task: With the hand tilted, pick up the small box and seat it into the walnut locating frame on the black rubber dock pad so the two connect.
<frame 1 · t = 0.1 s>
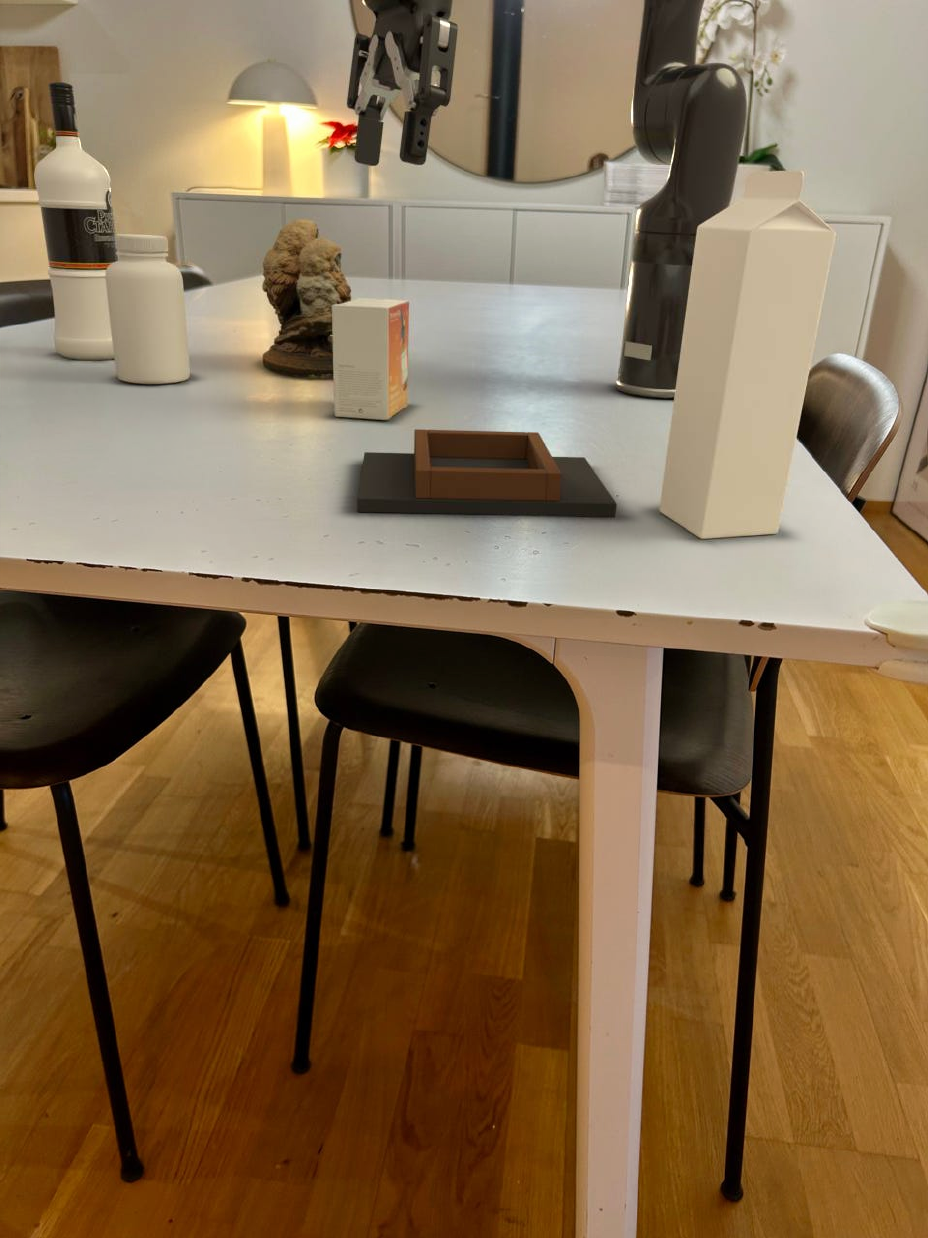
hand: (388, 163, 80), 22 cm above the table, tool pointing down, fingers open, 8 cm apart
milk: (716, 525, 63), on the table
vodka: (96, 356, 115), on the table
dock pad: (480, 488, 68), on the table
pill bottle: (154, 380, 102), on the table
owl figurine: (314, 369, 112), on the table
small box: (372, 413, 91), on the table
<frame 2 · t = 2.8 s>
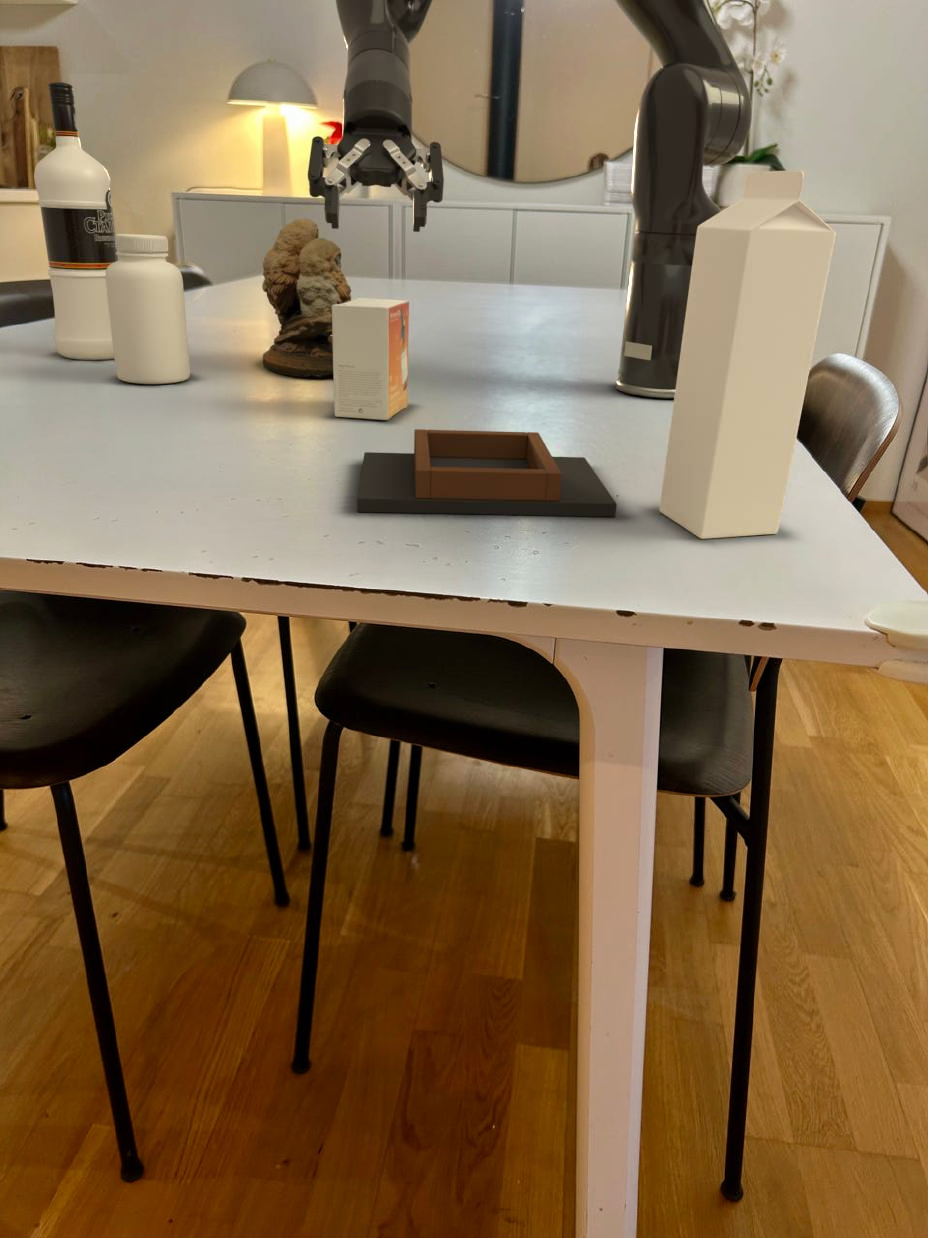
hand: (375, 224, 94), 17 cm above the table, tool tilted 45°, fingers open, 8 cm apart
nothing on the table moved.
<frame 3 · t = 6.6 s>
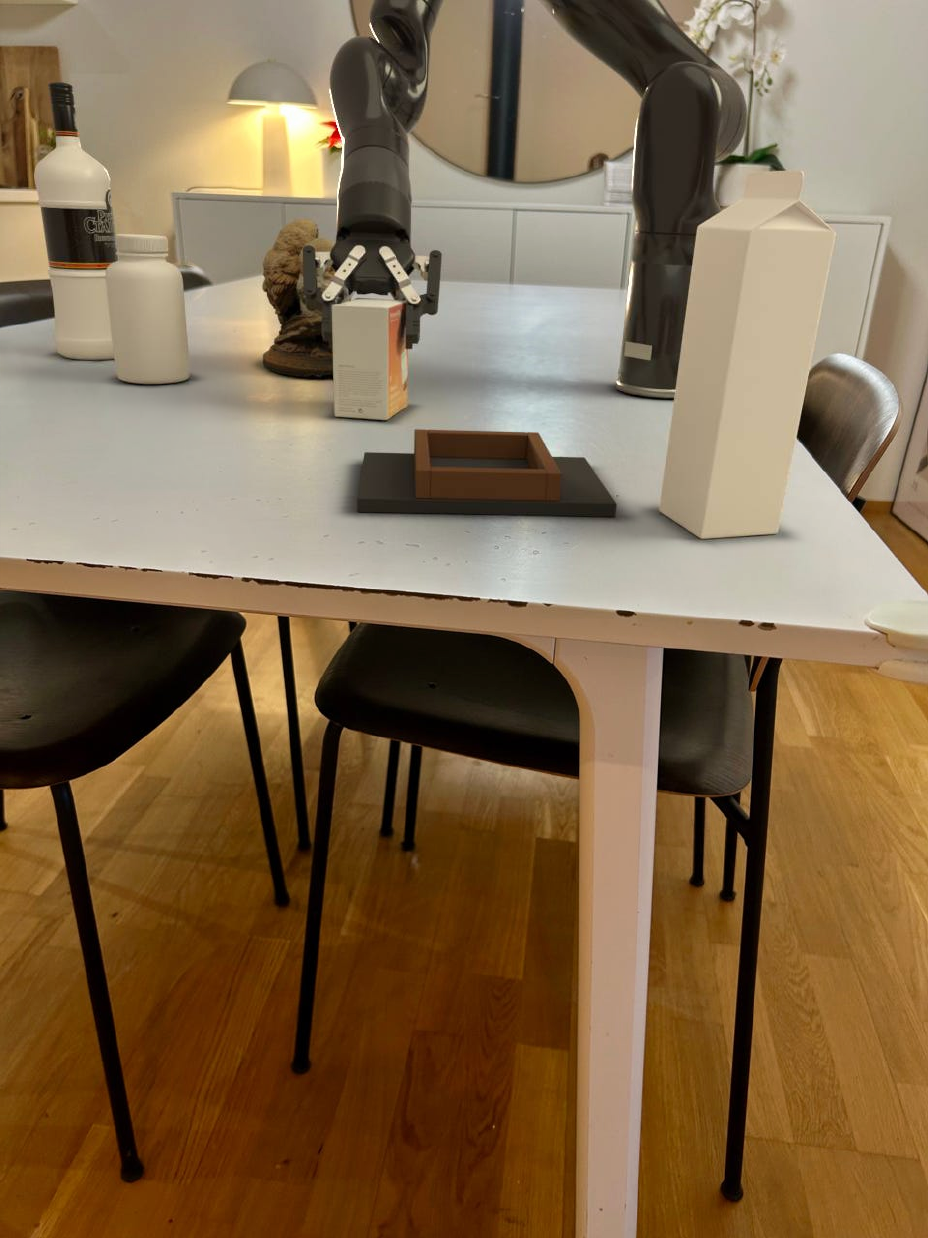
hand: (370, 342, 87), 7 cm above the table, tool tilted 45°, fingers closed on small box, 6 cm apart
small box: (372, 413, 91), on the table, touching gripper
everything else where it was.
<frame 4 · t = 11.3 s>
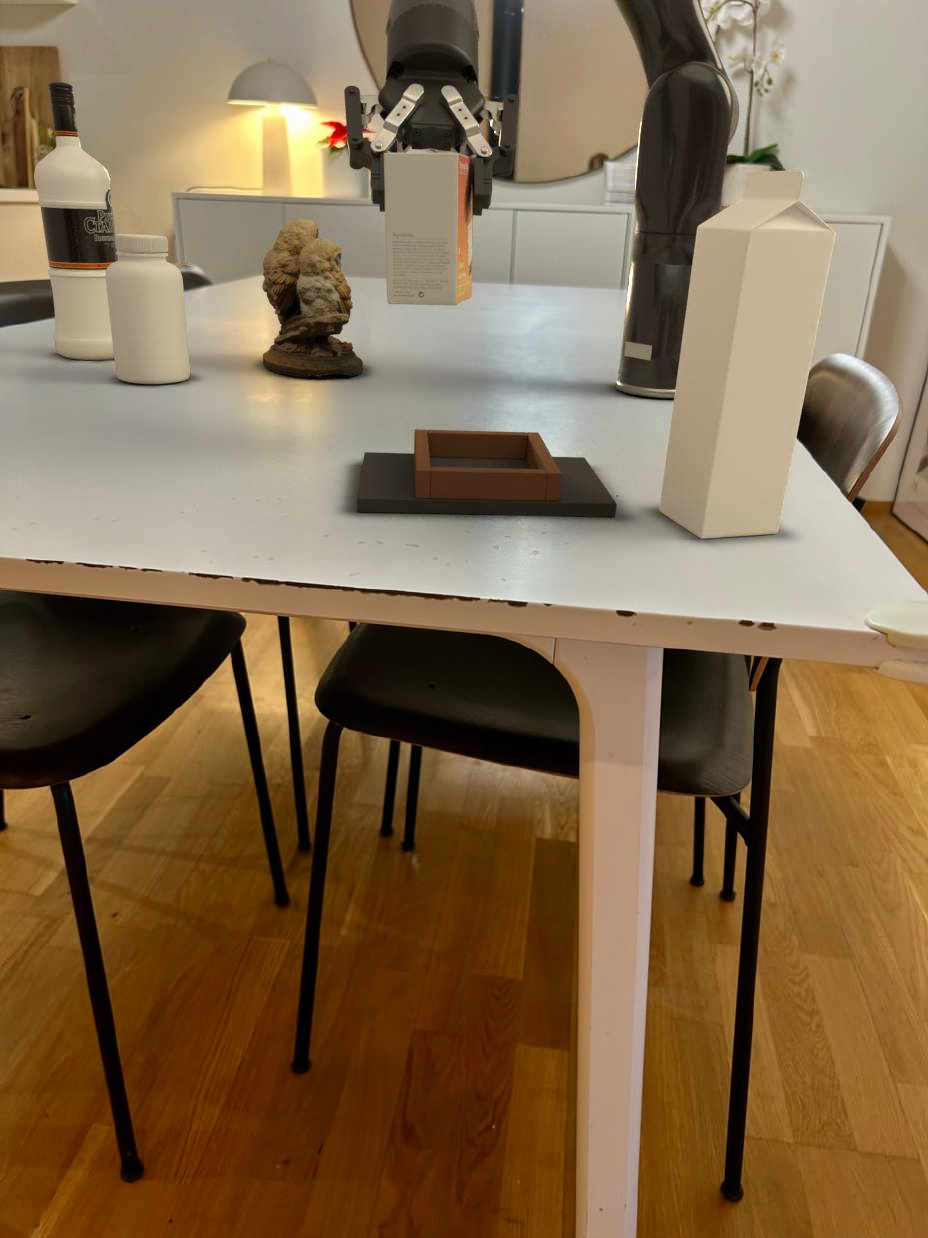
hand: (430, 204, 68), 19 cm above the table, tool tilted 45°, fingers closed on small box, 6 cm apart
small box: (431, 303, 72), point 12 cm above the table, touching gripper
everything else where it was.
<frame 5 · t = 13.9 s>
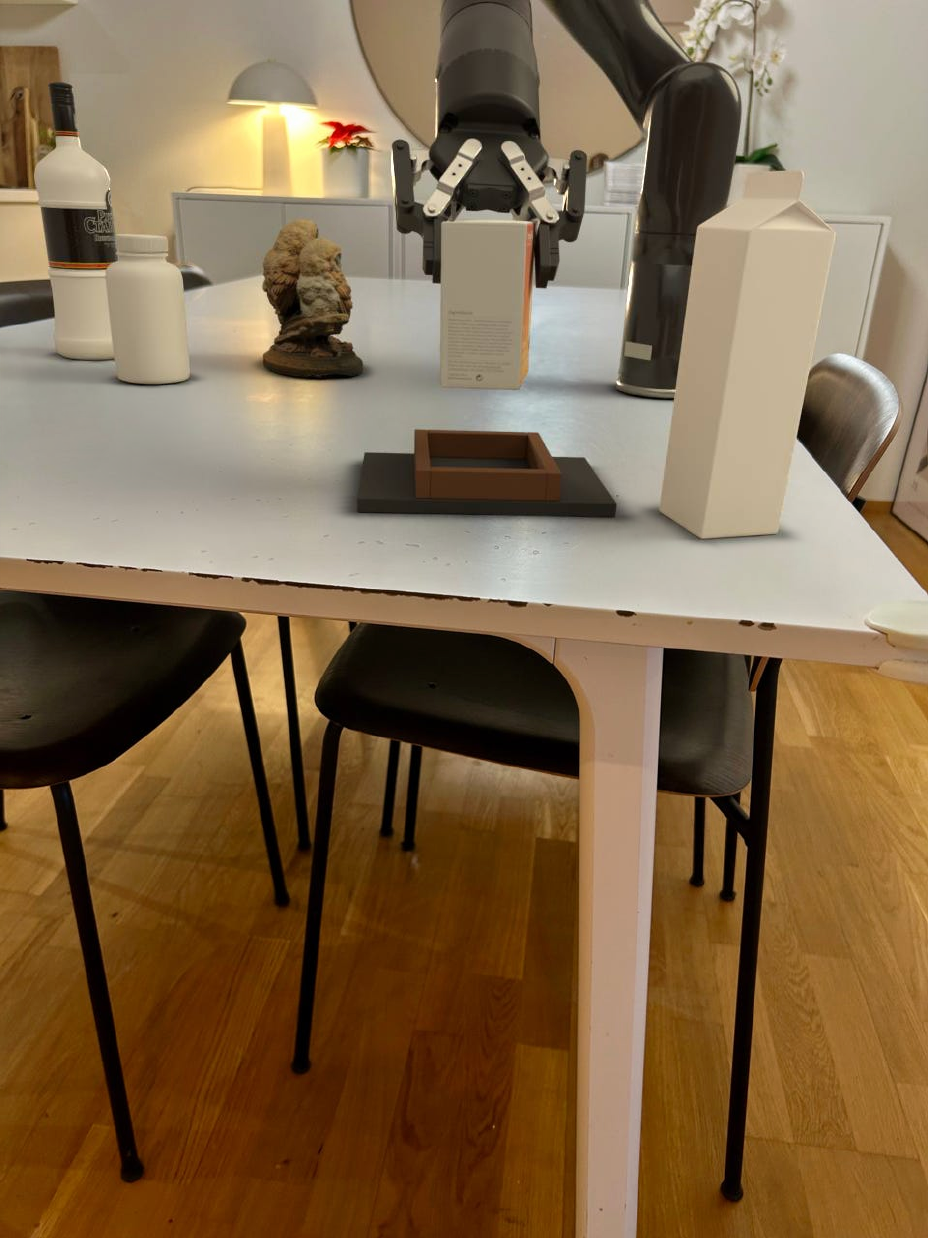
hand: (490, 277, 60), 15 cm above the table, tool tilted 45°, fingers closed on small box, 6 cm apart
small box: (486, 383, 65), point 8 cm above the table, touching gripper
everything else where it was.
when the fingers open (8 cm above the table, at t = 16.4 s): small box stays where it is, resting on dock pad.
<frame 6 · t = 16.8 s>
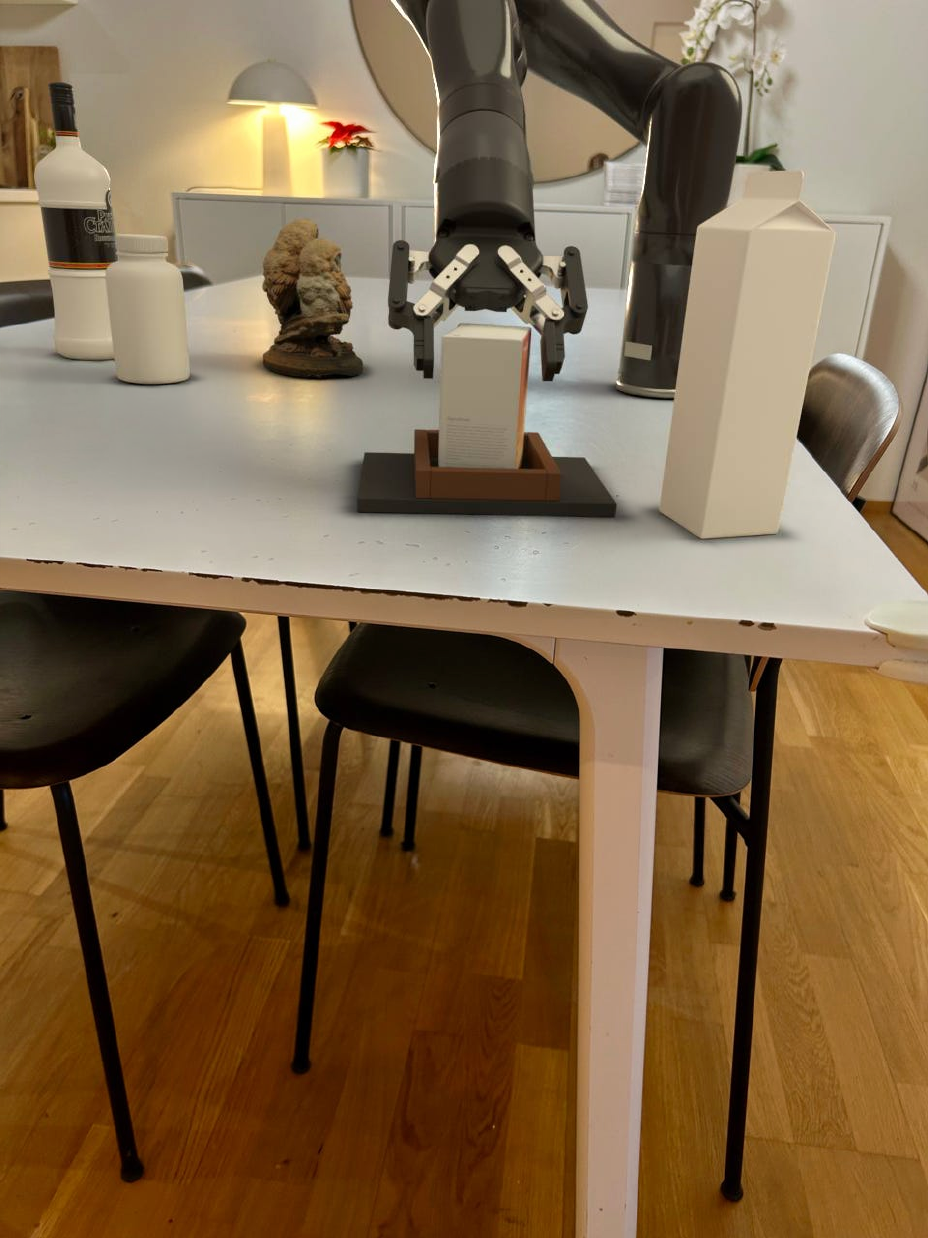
hand: (489, 373, 63), 9 cm above the table, tool tilted 45°, fingers open, 8 cm apart
small box: (481, 478, 68), point 1 cm above the table, touching dock pad
everything else where it was.
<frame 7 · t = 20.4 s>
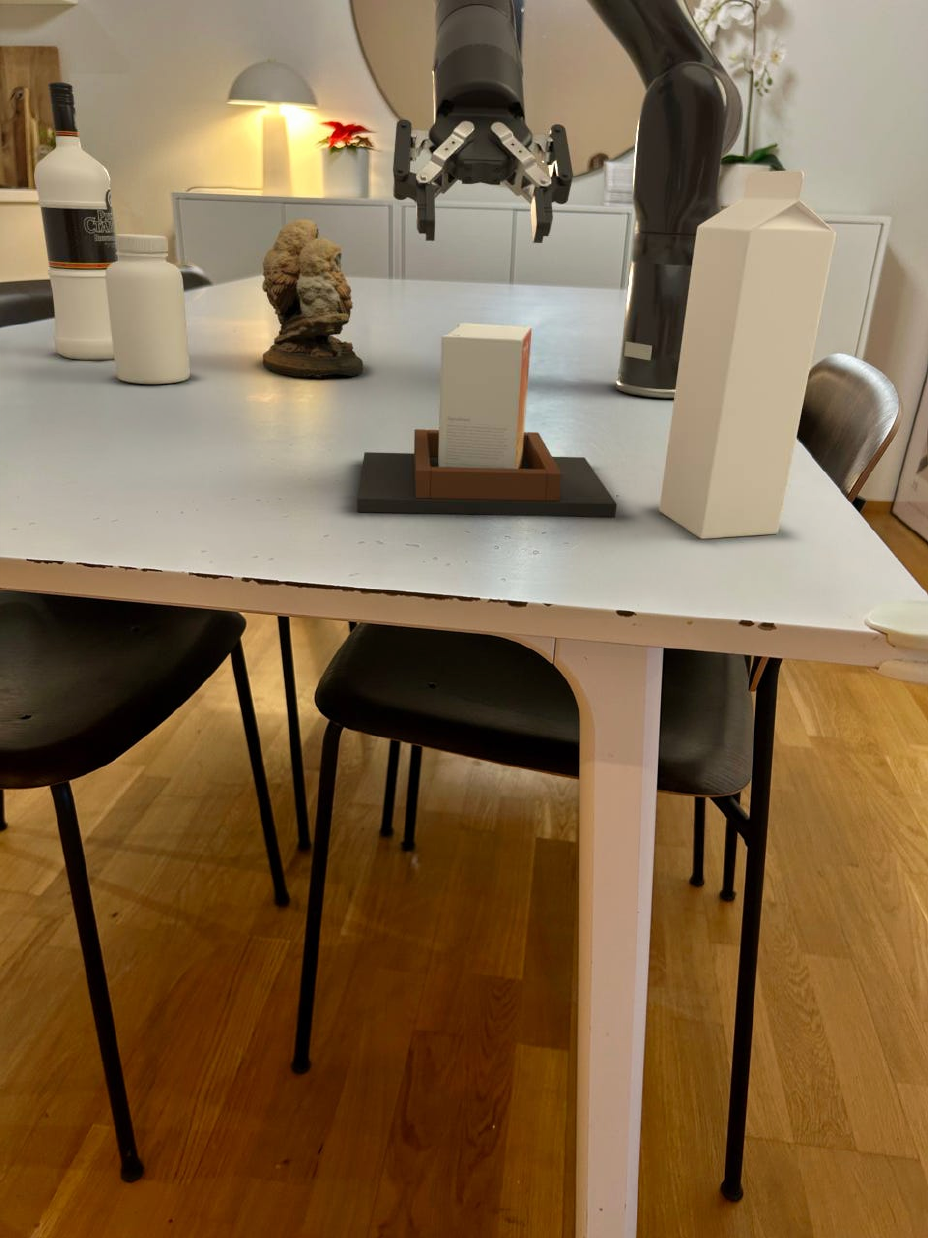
hand: (484, 234, 70), 17 cm above the table, tool tilted 45°, fingers open, 8 cm apart
nothing on the table moved.
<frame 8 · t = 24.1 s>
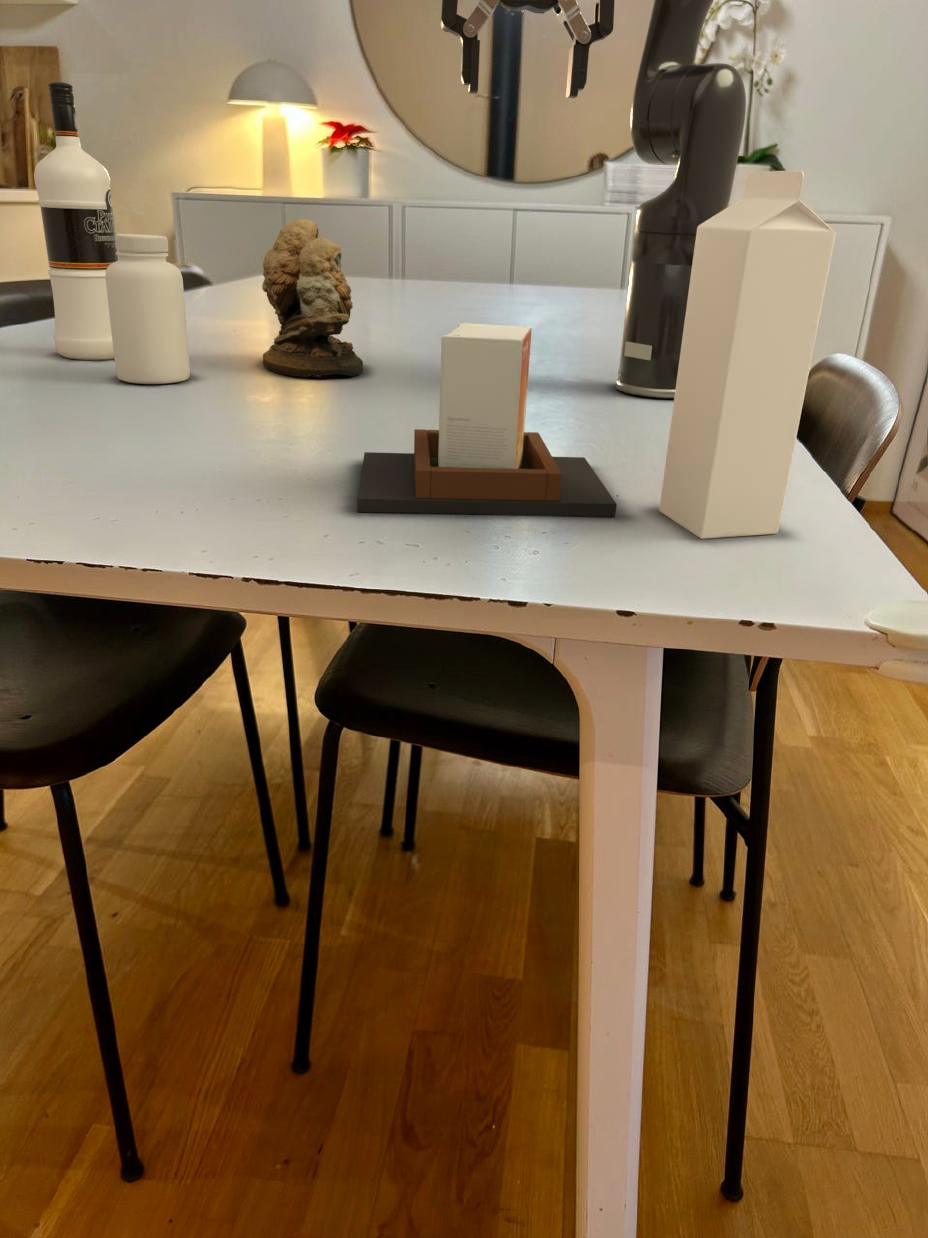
hand: (522, 94, 77), 28 cm above the table, tool pointing down, fingers open, 8 cm apart
nothing on the table moved.
at the end: small box 0.1 cm off-centre on the dock pad, point 0.8 cm above the dock pad's base; small box tilted 0°; the gripper is holding nothing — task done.
